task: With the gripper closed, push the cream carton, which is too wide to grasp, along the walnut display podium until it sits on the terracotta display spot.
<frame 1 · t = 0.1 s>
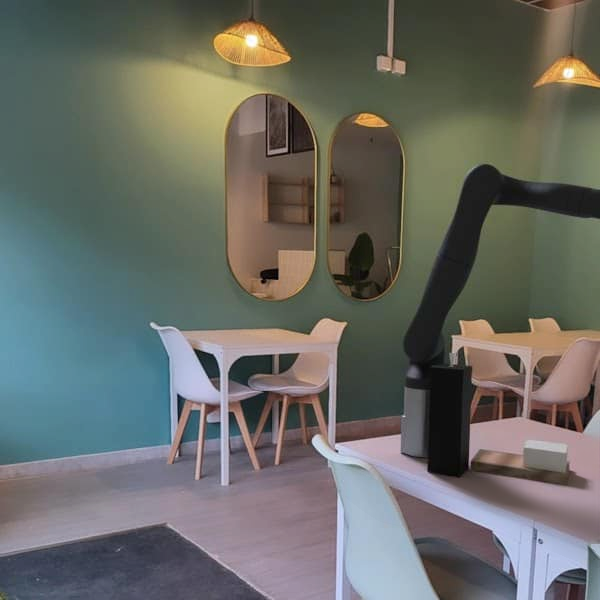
black rectangular column: (448, 471, 140), on the table
podium: (520, 469, 142), on the table
carton: (545, 465, 140), point 2 cm above the table, touching podium
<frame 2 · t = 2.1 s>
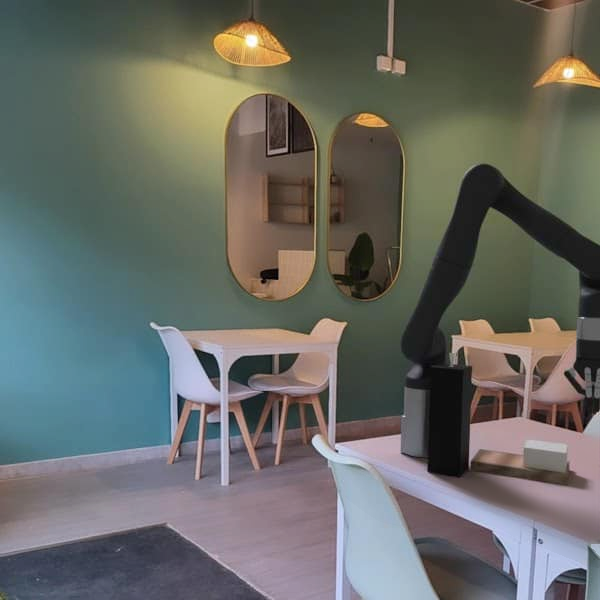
hand: (592, 413, 135), 15 cm above the table, fingers closed
nothing on the table moved.
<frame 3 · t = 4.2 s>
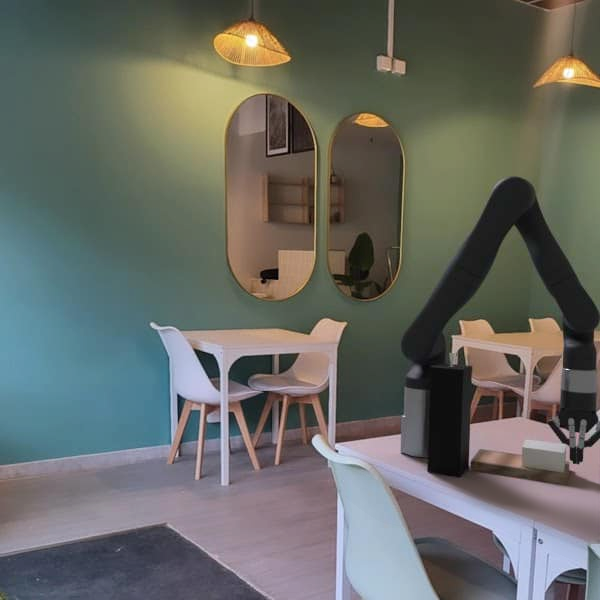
hand: (576, 463, 137), 3 cm above the table, fingers closed
carton: (543, 464, 140), point 2 cm above the table, touching gripper, podium
everything else where it was.
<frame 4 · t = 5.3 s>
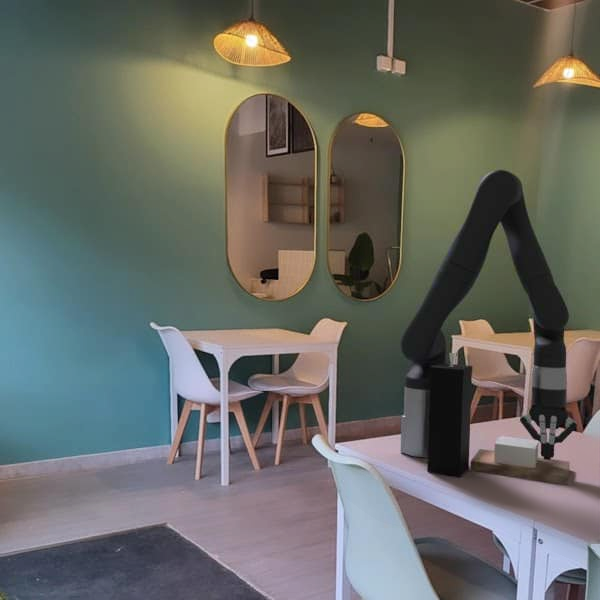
hand: (547, 458, 139), 4 cm above the table, fingers closed
carton: (516, 460, 142), point 2 cm above the table, touching gripper, podium
everything else where it was.
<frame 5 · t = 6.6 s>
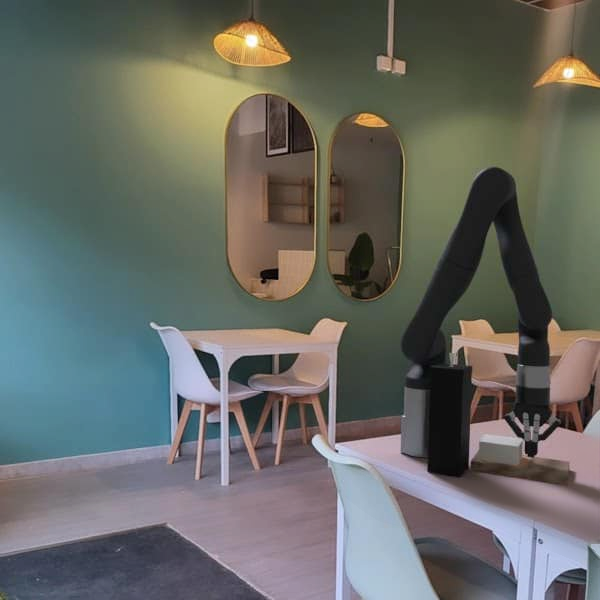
hand: (531, 456, 141), 4 cm above the table, fingers closed
carton: (500, 458, 144), point 2 cm above the table, touching gripper, podium
everything else where it was.
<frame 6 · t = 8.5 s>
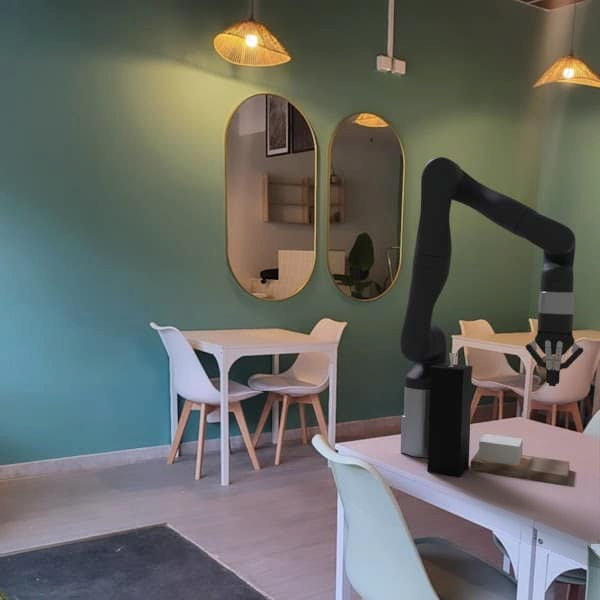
hand: (552, 385, 139), 21 cm above the table, fingers closed
carton: (500, 458, 144), point 2 cm above the table, touching podium
everything else where it was.
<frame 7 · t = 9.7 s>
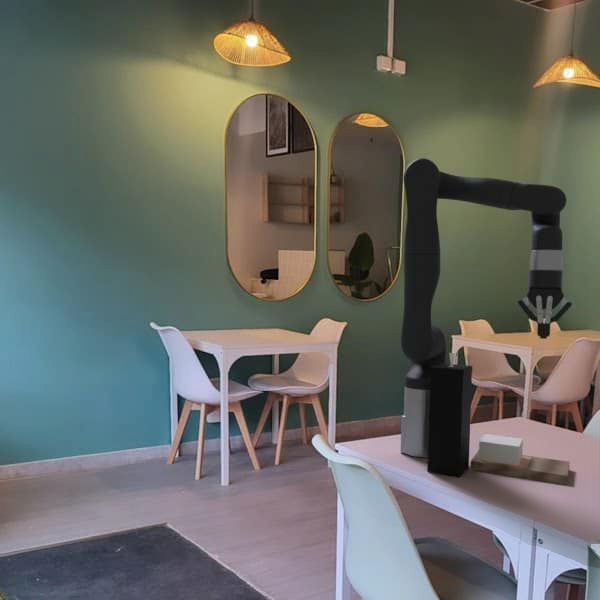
hand: (543, 338, 148), 31 cm above the table, fingers closed
nothing on the table moved.
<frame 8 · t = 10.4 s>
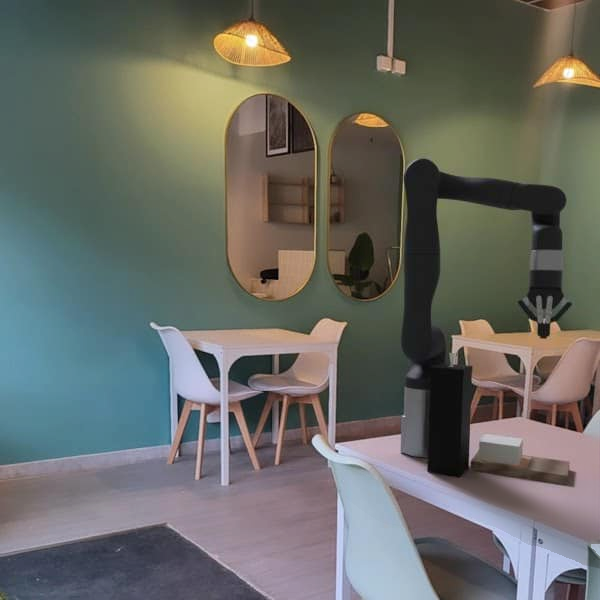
hand: (543, 338, 148), 31 cm above the table, fingers closed
nothing on the table moved.
at the end: carton 1.0 cm from the target spot on the podium, point 2.0 cm above the podium's base; carton tilted 0° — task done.
